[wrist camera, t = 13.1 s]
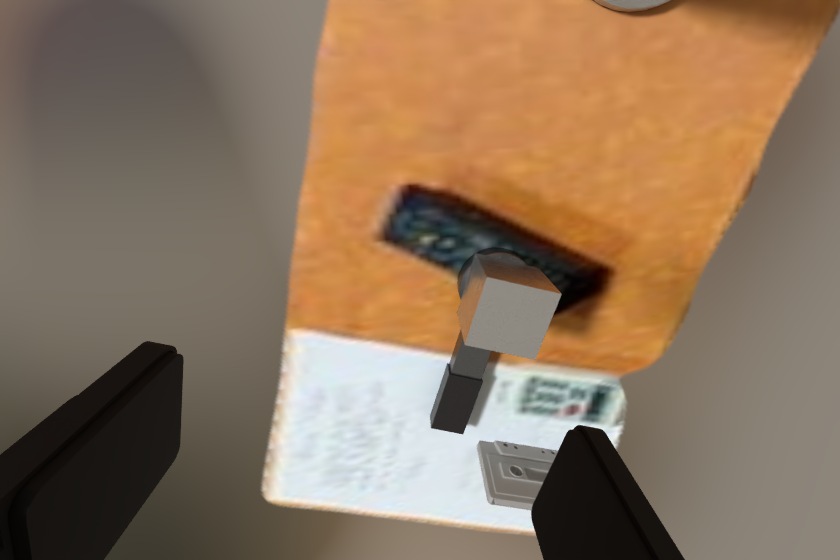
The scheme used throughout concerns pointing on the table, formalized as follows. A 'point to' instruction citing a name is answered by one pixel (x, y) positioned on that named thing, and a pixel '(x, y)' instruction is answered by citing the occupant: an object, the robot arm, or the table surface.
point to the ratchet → (463, 366)
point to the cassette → (513, 472)
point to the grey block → (506, 306)
